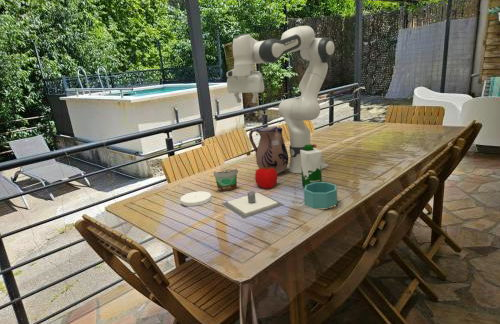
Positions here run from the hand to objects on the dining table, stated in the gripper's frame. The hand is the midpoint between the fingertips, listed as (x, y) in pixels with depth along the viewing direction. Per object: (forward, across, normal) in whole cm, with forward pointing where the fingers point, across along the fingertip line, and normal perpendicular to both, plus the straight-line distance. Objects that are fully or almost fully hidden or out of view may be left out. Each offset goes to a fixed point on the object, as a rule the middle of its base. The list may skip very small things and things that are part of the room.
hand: (246, 102), depth 159 cm
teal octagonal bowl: (+42, -38, 0) cm, 57 cm away
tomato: (+42, -6, -5) cm, 43 cm away
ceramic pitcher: (+42, +8, -24) cm, 48 cm away
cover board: (+42, -14, +17) cm, 47 cm away
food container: (+42, +8, +9) cm, 44 cm away
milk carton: (+42, -25, -15) cm, 51 cm away
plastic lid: (+43, +12, +26) cm, 52 cm away
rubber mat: (+42, -14, +17) cm, 47 cm away
